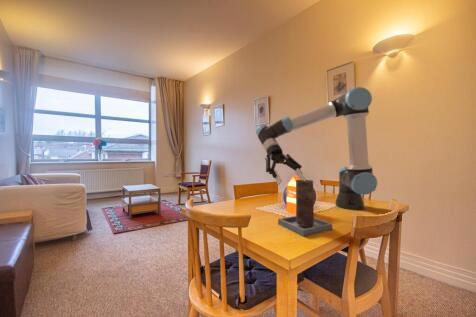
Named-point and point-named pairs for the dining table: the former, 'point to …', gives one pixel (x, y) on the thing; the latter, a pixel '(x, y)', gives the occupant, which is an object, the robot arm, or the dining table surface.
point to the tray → (293, 226)
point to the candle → (304, 203)
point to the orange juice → (292, 195)
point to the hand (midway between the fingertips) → (292, 181)
